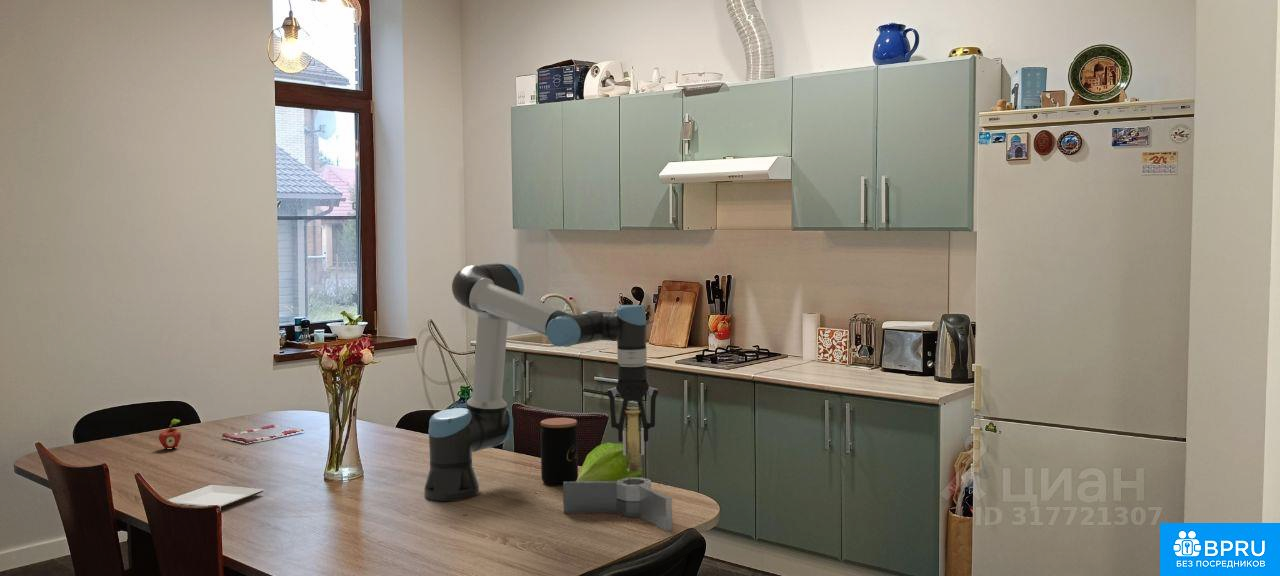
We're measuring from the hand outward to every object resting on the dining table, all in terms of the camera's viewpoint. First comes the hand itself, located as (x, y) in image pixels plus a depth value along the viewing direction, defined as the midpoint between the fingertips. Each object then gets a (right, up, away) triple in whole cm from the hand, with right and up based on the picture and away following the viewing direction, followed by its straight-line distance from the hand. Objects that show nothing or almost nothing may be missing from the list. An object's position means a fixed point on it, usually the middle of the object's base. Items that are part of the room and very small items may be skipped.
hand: (633, 453), depth 258 cm
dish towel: (-136, -12, +103) cm, 171 cm away
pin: (0, -4, 0) cm, 4 cm away
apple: (-160, -13, +84) cm, 181 cm away
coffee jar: (-22, -14, +33) cm, 42 cm away
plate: (-116, -16, +17) cm, 119 cm away
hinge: (-4, -16, -5) cm, 17 cm away
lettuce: (-7, -15, +19) cm, 25 cm away
